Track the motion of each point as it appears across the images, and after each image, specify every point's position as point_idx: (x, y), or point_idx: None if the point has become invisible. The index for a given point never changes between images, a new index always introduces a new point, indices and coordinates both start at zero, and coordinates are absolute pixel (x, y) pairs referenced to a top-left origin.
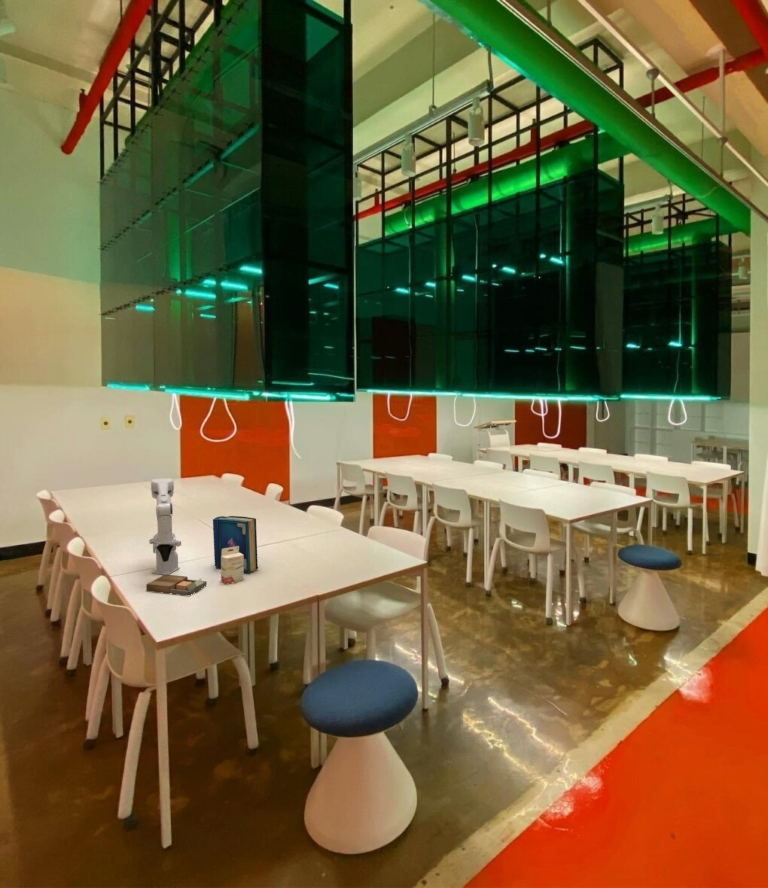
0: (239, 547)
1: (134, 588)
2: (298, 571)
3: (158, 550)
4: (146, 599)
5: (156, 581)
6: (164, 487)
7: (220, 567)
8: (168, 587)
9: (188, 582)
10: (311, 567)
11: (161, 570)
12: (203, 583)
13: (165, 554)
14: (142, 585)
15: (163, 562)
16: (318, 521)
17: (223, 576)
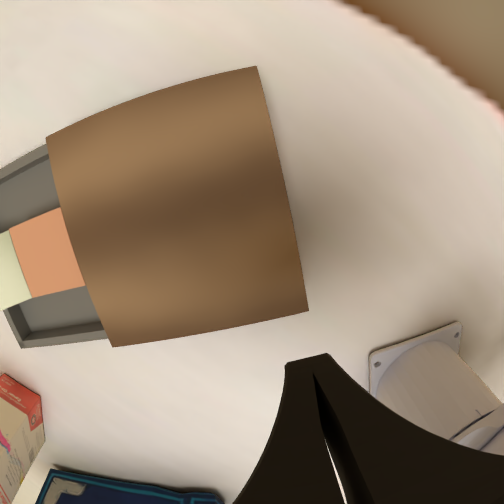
0: None
1: (375, 85)
2: None
3: (456, 445)
4: (129, 8)
5: (229, 149)
6: None
7: (186, 493)
8: (55, 134)
9: (40, 282)
10: (19, 497)
11: (418, 357)
12: (9, 321)
13: (268, 445)
14: (376, 149)
15: (430, 398)
16: None
17: (2, 400)
